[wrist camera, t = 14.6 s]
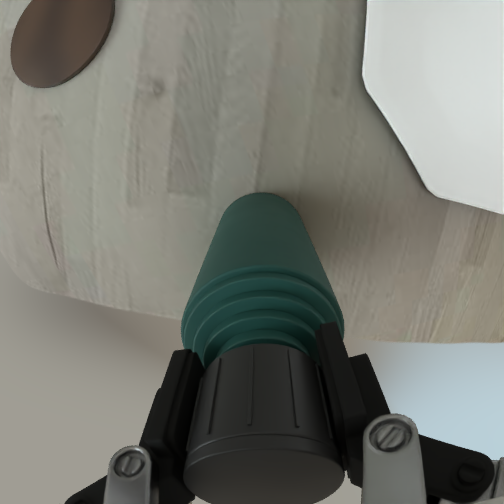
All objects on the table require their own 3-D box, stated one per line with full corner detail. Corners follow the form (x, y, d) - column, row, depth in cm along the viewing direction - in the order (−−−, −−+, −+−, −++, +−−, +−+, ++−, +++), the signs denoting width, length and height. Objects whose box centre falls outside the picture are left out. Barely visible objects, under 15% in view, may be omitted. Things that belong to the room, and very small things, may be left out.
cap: (339, 405, 10) (358, 493, 6) (236, 435, 11) (230, 518, 7) (300, 323, 9) (318, 428, 5) (178, 365, 9) (150, 462, 6)
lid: (107, -44, 15) (104, -47, 15) (124, 53, 19) (121, 51, 18) (11, 15, 16) (7, 14, 16) (21, 109, 20) (17, 109, 20)
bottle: (292, 183, 23) (388, 347, 5) (311, 262, 25) (382, 483, 8) (207, 205, 23) (94, 396, 6) (232, 281, 26) (197, 508, 8)
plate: (452, 255, 24) (461, 262, 23) (295, 13, 18) (297, 6, 16) (575, 134, 19) (583, 135, 17) (471, -59, 12) (478, -64, 11)
